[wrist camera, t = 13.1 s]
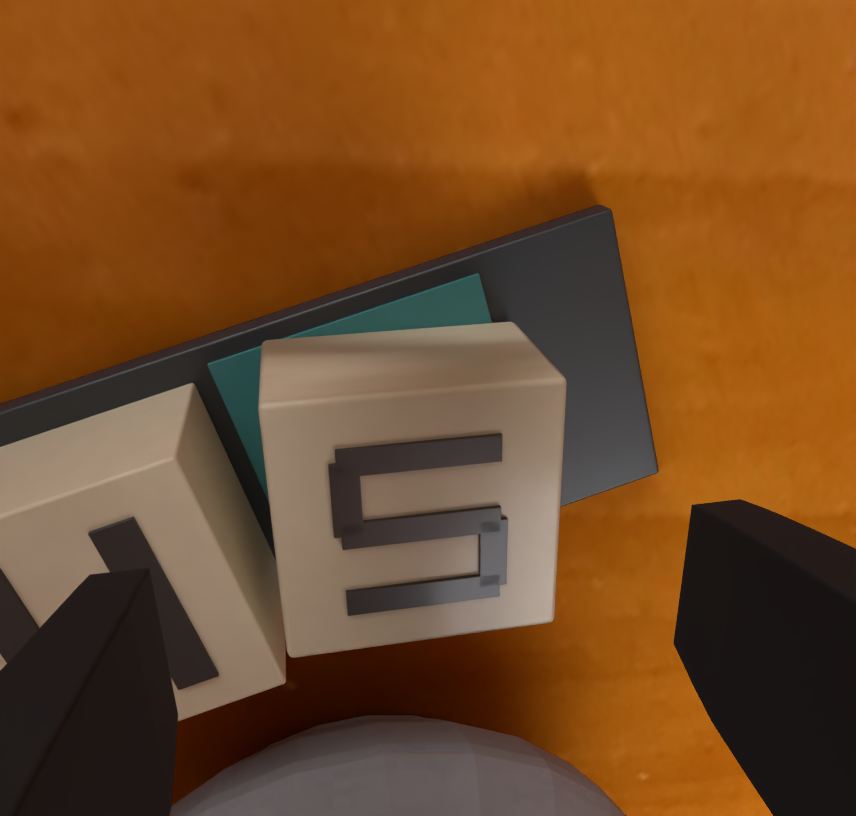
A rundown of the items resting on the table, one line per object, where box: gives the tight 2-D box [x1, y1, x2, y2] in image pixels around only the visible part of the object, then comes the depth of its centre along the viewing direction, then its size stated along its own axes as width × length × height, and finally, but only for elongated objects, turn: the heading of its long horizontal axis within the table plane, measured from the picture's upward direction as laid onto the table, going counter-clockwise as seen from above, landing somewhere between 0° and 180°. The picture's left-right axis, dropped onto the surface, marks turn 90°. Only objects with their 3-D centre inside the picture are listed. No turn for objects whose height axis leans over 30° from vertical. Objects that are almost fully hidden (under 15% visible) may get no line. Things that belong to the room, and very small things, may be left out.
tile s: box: [258, 322, 567, 658], centre depth 12 cm, size 4×4×3 cm
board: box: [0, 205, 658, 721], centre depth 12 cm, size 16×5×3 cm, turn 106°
